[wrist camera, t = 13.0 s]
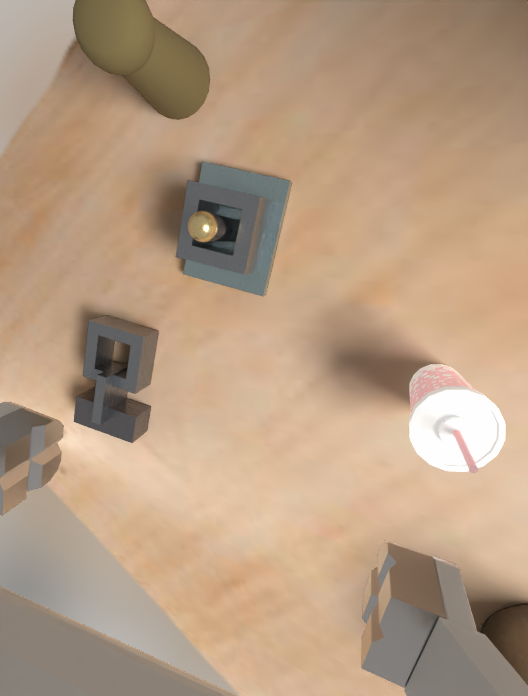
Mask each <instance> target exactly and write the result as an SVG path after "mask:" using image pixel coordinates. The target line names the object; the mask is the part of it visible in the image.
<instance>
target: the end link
mask: <svg viewBox="0 0 528 696" xmlns="http://www.w3.org/2000/svg"><path fill="white" fill-rule="evenodd" d="M273 204H274V202H272V201H270V200H268V199H266V198H263V197H261V196H257V195H253V194H248V193H244V192H239V191H235V190H230V189H226V188H221V187H217V186H212V185H208V184H203V183H199V182H194V181H190V180H188V182H187V188H186V195H185V201H184V207H183V214H182V220H181V227H180V233H179V240H178V246H177V252H176V257H178V258H182V259H186V260H190V261H193V262H197V263H201V264H205V265H209V266H213V267H217V268H220V269H224V270H228V271H232V272H236V273H240V274H244V275H245V274H250V273H254V272H258V271H259V268H260V264H261V259H262V254H263V250H264V245H265V240H266V236H267V231H268V227H269V222H270V217H271V213H272V208H273ZM219 205H222V206H227V207H231V208H235V209H240V210H242V213H241V219H240V224H239V229H238V234H237V239H236V244H235V249H234V251H231V250H227V249H223V248H219V247H215V246H212V242H213V241H209V242H199V241H197V240H195V239H194V238H193V237H192V236H191V235H190V233H189V230H188V222H189V219H190V217H191V216H192V215H193V214H194V213H196V212H199V211H206V212H209V213H211V214H214V215H218V209H219Z"/></svg>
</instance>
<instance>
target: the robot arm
mask: <svg viewBox="0 0 528 696" xmlns="http://www.w3.org/2000/svg"><path fill="white" fill-rule="evenodd" d="M63 428H64V425H63V424H62V423H61V422H60V421H59V420H56V419H54V418H51V417H49V416H46V415H44V414H41V413H39V412H36V411H34V410H31V409H28V408H25V407H23V406H20V405H18V404H15V403H12V402H3V403H1V404H0V515H2V516H3V515H4V514H5V513H7V512H8V511H10V510H11V509H12V508H14V507H15V506H16V505H18V504H19V503H21V502H22V501H23V500H25V499H26V497H27V493H28V491H30V490H34V489H38V488H41V487H42V486H43V485H45V484H46V483H48V482H49V481H50V480H51V478H52V477H53V476H54V474H55V473H56V472H57V470H58V467H59V464H60V462H61V453H62V452H61V450H60V448H59V446H58V444H57V442H58V441H60V440H61V439H62V438H63ZM362 618H363V620H364V621H365V623H366V627H365V630H364V632H363V635H362V656H361V668H362V669H364V670H367V671H369V672H371V673H373V674H375V675H378V676H380V677H382V678H384V679H386V680H388V681H391V682H393V683H395V684H397V685H399V686H402V687H404V688H405V693H406V695H407V696H528V685H527V684H526V683H525V681H524V680H523V679H522V678H521V677H520V675H519V674H518V673H517V672H516V671H515V670H514V668H513V667H512V666H511V665H510V664H509V662H508V661H507V660H506V659H505V658H504V656H503V655H502V654H501V653H500V652H499V651H498V649H497V648H496V647H495V646H494V645H493V643H492V642H491V641H490V640H489V639H488V637H487V636H486V635H485V634H482V633H480V632H477V629H476V625H475V622H474V619H473V615H472V612H471V608H470V605H469V601H468V598H467V594H466V591H465V587H464V584H463V580H462V577H461V573H460V570H459V568H458V566H457V565H456V564H454V563H451V562H448V561H445V560H442V559H439V558H436V557H433V556H428V555H425V554H422V553H419V552H417V551H414V550H411V549H408V548H405V547H403V546H400V545H397V544H394V543H391V542H389V541H386V540H384V542H383V543H382V545H381V547H380V550H379V552H378V567H377V568H375V569H373V570H371V573H370V576H369V578H368V581H367V584H366V589H365V593H364V598H363V607H362ZM0 696H237V695H235V694H233V693H230V692H228V691H226V690H224V689H222V688H219V687H217V686H215V685H213V684H211V683H209V682H207V681H205V680H202V679H200V678H198V677H196V676H194V675H191V674H189V673H187V672H185V671H183V670H180V669H179V668H176V667H174V666H172V665H170V664H168V663H166V662H163V661H161V660H159V659H157V658H155V657H153V656H151V655H148V654H146V653H144V652H142V651H140V650H138V649H135V648H133V647H131V646H129V645H127V644H125V643H122V642H120V641H118V640H116V639H114V638H111V637H109V636H107V635H105V634H103V633H101V632H98V631H96V630H94V629H92V628H90V627H88V626H85V625H83V624H81V623H79V622H77V621H75V620H72V619H70V618H68V617H66V616H64V615H62V614H59V613H57V612H55V611H53V610H51V609H49V608H46V607H44V606H42V605H40V604H38V603H35V602H33V601H31V600H29V599H27V598H24V597H23V596H20V595H18V594H16V593H14V592H12V591H10V590H7V589H5V588H3V587H1V586H0Z"/></svg>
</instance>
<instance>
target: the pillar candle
mask: <svg viewBox="0 0 528 696" xmlns="http://www.w3.org/2000/svg"><path fill="white" fill-rule="evenodd" d="M480 633H482V634H485V635H486V636H487V637H488V639H489V640H490V641H491V642H492V643H493V645H494V646H495V647H496V648H497V649H498V651H499V652H500V653H501V654H502V655H503V656H504V658H505V659H506V660H507V661H508V662H509V664H510V665H511V666H512V667H513V668H514V670H515V671H516V672H517V673H518V674H519V675H520V677H521V678H522V679H523V680H524V681H525V683H526V684H527V685H528V605H520V606H519V605H518V606H514V607H511V608H507V609H504V610H502V611H499V612H497V613H495V614H493V615H492V616H490V617H489V619H487V620H486V622H485V623H484V625H483V626H482V629H481V631H480Z"/></svg>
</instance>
